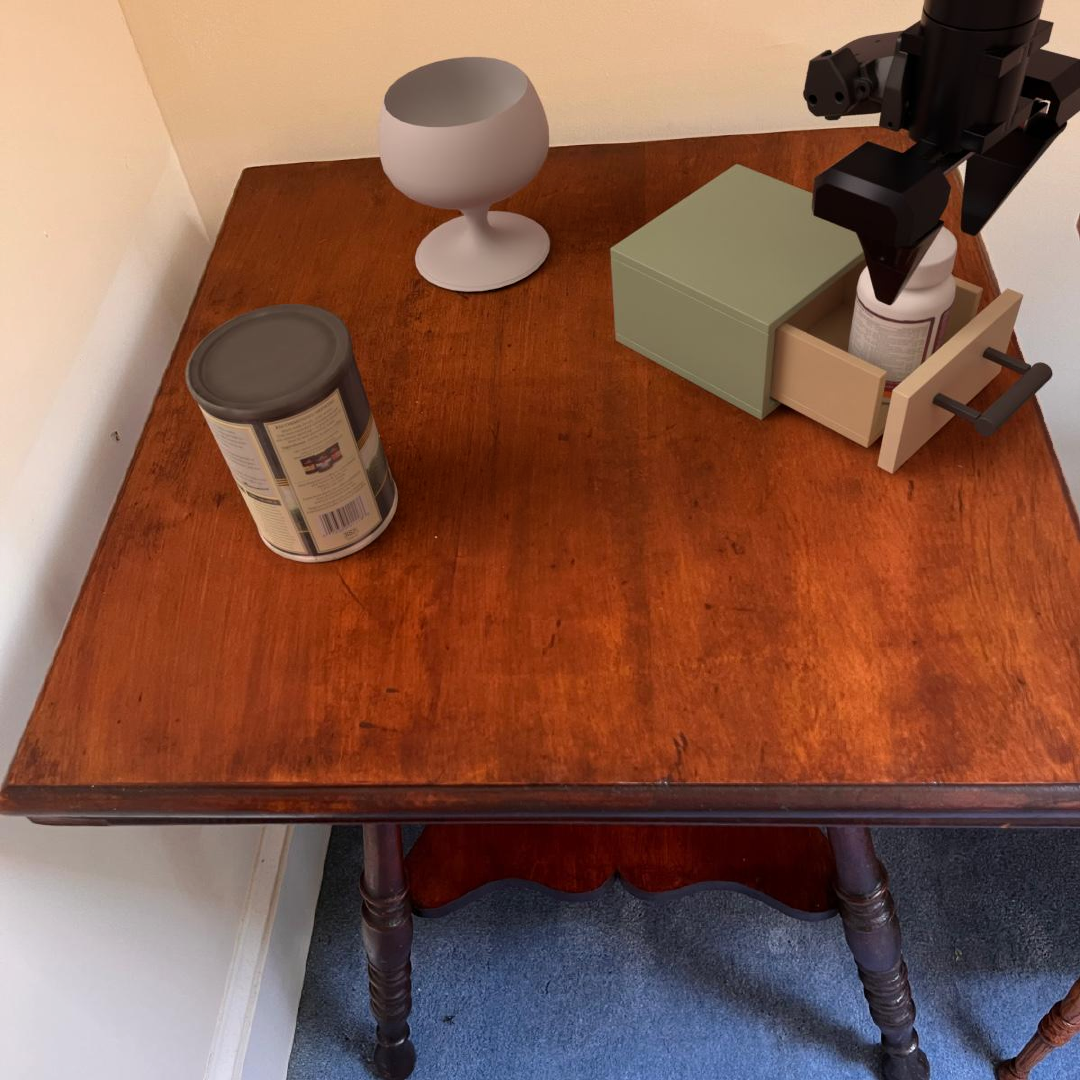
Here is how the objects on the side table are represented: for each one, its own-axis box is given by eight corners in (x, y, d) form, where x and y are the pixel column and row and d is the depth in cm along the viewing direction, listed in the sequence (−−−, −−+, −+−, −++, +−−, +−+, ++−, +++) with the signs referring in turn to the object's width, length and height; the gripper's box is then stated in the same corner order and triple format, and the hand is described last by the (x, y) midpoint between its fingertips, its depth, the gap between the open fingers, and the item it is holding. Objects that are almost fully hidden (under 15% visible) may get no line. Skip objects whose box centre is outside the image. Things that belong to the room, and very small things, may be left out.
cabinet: (879, 322, 81) (896, 225, 74) (761, 420, 75) (769, 325, 69) (732, 255, 89) (736, 163, 82) (615, 340, 83) (609, 248, 76)
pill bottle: (895, 340, 76) (922, 202, 68) (952, 386, 72) (988, 247, 64) (825, 369, 75) (844, 233, 66) (879, 418, 71) (907, 281, 63)
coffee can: (319, 441, 79) (262, 286, 68) (426, 485, 74) (384, 328, 64) (226, 532, 73) (149, 379, 63) (335, 585, 69) (273, 432, 58)
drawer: (1059, 399, 72) (1088, 320, 67) (952, 506, 67) (975, 430, 62) (842, 301, 82) (853, 225, 76) (733, 389, 76) (737, 314, 71)
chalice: (591, 234, 93) (578, 68, 82) (497, 320, 86) (470, 152, 75) (470, 196, 99) (443, 37, 88) (374, 273, 92) (331, 112, 81)
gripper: (944, -83, 61) (902, 163, 72) (739, 38, 53) (730, 289, 65) (1131, -45, 55) (1053, 216, 67) (930, 96, 47) (882, 362, 59)
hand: (928, 266), depth 65 cm, fingers open, 9 cm apart
